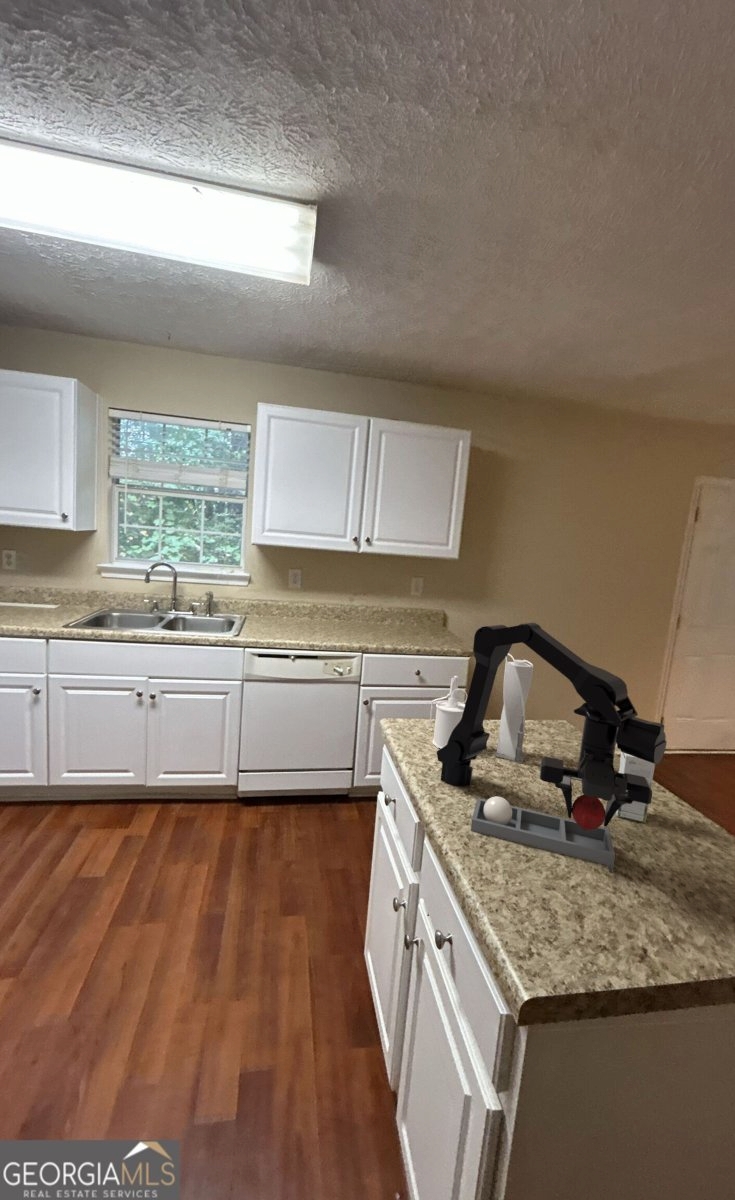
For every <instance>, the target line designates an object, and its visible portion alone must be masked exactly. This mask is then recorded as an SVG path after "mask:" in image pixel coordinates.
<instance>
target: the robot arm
mask: <svg viewBox="0 0 735 1200" xmlns="http://www.w3.org/2000/svg"><path fill="white" fill-rule="evenodd" d="M520 643H521V644H524V645H525V646H527V647H528V648H529V649H530V650H531V651H533V653H536V655H538V656H539V657H540V658H542V660H544V661H545V662H546V663H547V664H549V665H550V666H552V667H553V668H554V669H555V670H556V671H558V672H559V673H560V674H561V675H563V676H564V677H565V678H567V680H568V681H570V682H571V684H572V686H573V688H574V690H575V691H576V693H577V695H578V696H579V697H580V698H581V699H582V700H583V701H584V702H583V703H582V705H581V706H579V707H578V708H575V709H574V710H573V713H574V714H576V715H579V716H582V717H584V720H583V721H584V722H583V730H582V735H581V741H580V742H581V743H580V750H579V757H578V764H577V765H578V766H577V769H576V768H572V767H568V766H564V760H563V759H559V758H554V757H548V756H544V757H542V758H541V760H540V768H539V780H541V781H542V782H545V783H550V784H554V786H555V788H557V789H559V790H560V791H561V792H562V795H563V798H564V801H565V807H566V813H567V816H568V819H572V805H573V797H572V796H573V784H572V780H575V781H579V782H581V787H582V788H581V791H582V795H585V796H588V797H596V798H598V799H599V800H600V799H601V800H603V801H606V806H605V820H604V822H603V826H604V828H608V826H609V824H610V822H611V820H612V819H613V817H614V816H615V814H616V811H617V810H618V809H619V808H620V807H621V806H622V805H624V804H626V803H628V804H632V802H633V801H636V802H640V803H645V804H648V805H650V804H652V798H653V789H652V786H651V787H650V785H649V783H648V781H647V779H646V778H645V777H643V776H638V775H633V774H628V773H624V774H623V773H618V771H617V770H615V768H614V767H615V766H614V762H615V761H614V758H615V753H616V748H617V749H618V750H620V752H623V753H626V754H629V755H631V756H634V757H637V758H640V759H643V760H645V761H648V762H651V763H654V764H655V765H659V764H660V762H661V761H662V759H663V757H664V756H665V752H666V748H667V737H666V732H665V725H664V724H663V723H660V722H657V721H656V722H655V721H649V720H646V719H643V718H639V717H638V716H639V715H638V712H637V710H636V709H635V706H634V705H633V703H632V701H631V698H630V697H629V696H628V693H629V691H628V687H627V684H626V682H625V681H624V680H623V679H622V678H621V677H620V676H617V675H616V674H613V673H611V672H610V671H608V670H605V669H604V668H600V667H598V666H596V665H593V664H590V663H588V662H586V661H585V660H584V659H582V658H581V657H580V656H578V655H577V654H576V653H574V652H573V650H570V648H568V647H567V646H566V645H564V644H563V643H561V642H560V641H559V640H557V639H556V638H555V637H554V636H552V635H550V634H549V633H548V632H547V631H545V630H544V629H542V627H541V625H539V624H538V623H536V622H527V623H526V622H524V623H520V624H519V625H514V626H507V625H504V624H495V625H494V624H493V625H486V626H481V627H479V628H478V629H476V630H475V633H474V637H473V645H472V646H473V647H472V650H473V656H474V659H475V665H474V670H473V674H472V677H471V680H470V684H469V689H468V692H467V696H466V698H467V699H466V698H465V700H466V702H465V703H464V704H465V707H464V711H463V715H462V718H461V720H460V722H459V723H458V724H457V726H456V727H455V728H454V729H453V731H452V733H451V735H450V737H449V739H448V742H447V745H446V746H444V747H443V748H441V749H439V750H436V757H437V761H438V762H440V763H441V773H440V781H441V782H444V783H445V784H447V785H449V786H452V787H471V784H472V780H473V779H472V778H473V770H474V768H473V766H471V765H472V761H473V760H474V761H475V760H476V759H477V757H478V755H480V754H482V753H483V751H484V750H487V747H488V746H487V742H488V740H489V738H490V733H489V732H486V731H485V729H484V720H485V717H486V714H487V713H486V712H487V709H488V706H489V702H490V697H491V696H492V695H491V694H492V692H493V687H494V683H495V679H496V675H497V672H498V668H499V666H500V665H501V664H502V662H504V660H506V658H505V657H506V656H507V657H508V656H509V655H508V653H509V652H510V650H511V648H512V646H513V645H514V644H520ZM616 707H617V708H618V710H617V709H616Z"/></svg>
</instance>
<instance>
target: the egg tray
mask: <svg viewBox="0 0 735 1200" xmlns="http://www.w3.org/2000/svg"><path fill="white" fill-rule="evenodd" d="M487 800H488V799H484V798H479V797H477V798H476V803H475V807H474V811H473V813H472V818H471V824H470V831H471V832H475V833H479V834H483V835H486V836H491V837H495V838H498V839H503V840H506V841H510V842H513V843H518V844H522V845H526V846H530V847H533V848H537V849H540V850H541V849H542V850H545V851H550V852H553V853H558V854H560V855H565V856H569V857H572V858H575V859H581V860H585V861H588V862H593V863H596V864H600V865H604V866H607V869H608V872H609V873H611V874H613V872H614V865H615V859H616V853H615V847H614V845H613V841H612V840H613V839H612V837H611V833H610V829H609V828H608V827H605V826H604V827H603V826H600V827H598V828H596V829H594V830H589V831H585V830H583V829H582V828H581V827H580V826H579V825H578V824H577V823H576V821H575V820H574V819H571V818H564V817H561V816H560V817H559V816H555V815H552V814H548V813H543V812H538V811H534V810H531V809H527V808H522V807H519V806H518V807H517V806H515V805H514V806H513V805H511V808H512V818H511V820H510V822H509V823H508V824H507V825H501V824H497V823H493V822H489V821H487V820H486V818H485V816H484V811H483V810H484V805H485V803H486V801H487Z"/></svg>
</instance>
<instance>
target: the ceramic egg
mask: <svg viewBox="0 0 735 1200" xmlns="http://www.w3.org/2000/svg"><path fill="white" fill-rule="evenodd" d="M486 800H487V801H486V803H485V805H484V810H483V811H484V816H485V818H486V820H487V821H489V822H493V823H497V824H501V825H507V824H508V823H509V822H510V820H511V818H512V808H511V806H512V805H511V804H510V802H509V801H508V800H507V799H505V798H504V797H502V796H499V795H497V796H492V797H490V798H488V799H486Z"/></svg>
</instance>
